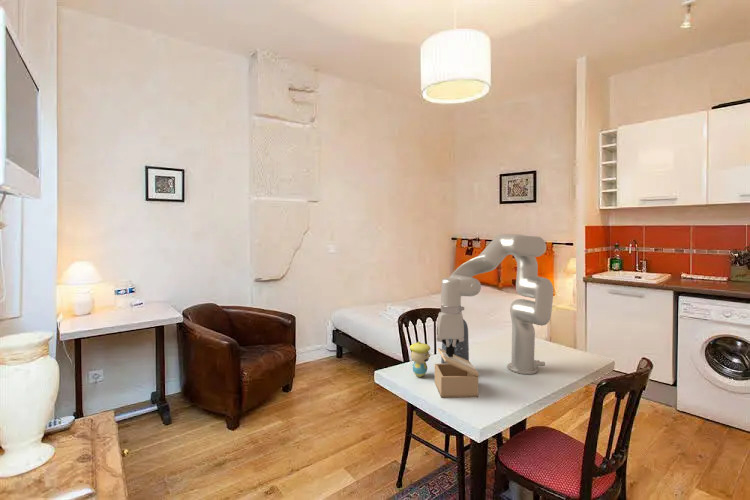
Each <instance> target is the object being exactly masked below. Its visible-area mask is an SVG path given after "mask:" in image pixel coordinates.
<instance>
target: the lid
mask: <svg viewBox="0 0 750 500" xmlns="http://www.w3.org/2000/svg"><path fill="white" fill-rule="evenodd" d="M437 351H438V353H439V354H440V356H442V358H443V359H444V361H445V362H446V363H449V364H451V365H453V366H455V367H458V368H460V369H462V370H465V371H467V372H469V373H472V374H474V375H476V376H478V377H480V374H479V372H478V370H477V369H476V367H475V366H474V365H473V364H472V363H471V362H470V360H469V361H467V360H465V359H463V358H461V357H458V356H456V355H454V354H453V357H449V356H448V355H447V354H446V351H445V350H442V348H438V349H437Z"/></svg>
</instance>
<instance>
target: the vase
mask: <svg viewBox="0 0 750 500" xmlns="http://www.w3.org/2000/svg"><path fill="white" fill-rule="evenodd" d="M462 311H463V310H462ZM462 311H461V313H462ZM462 314H463V313H462ZM463 323H464V341H462V342H458V343H457V344H456V346H455V347H454V355H456V356H458V357H461V358H463V359H465V360H467V361H469V362H470V353H469V351H470V348H469V328H468V323H467V322H466V320H465V319H464V318H463ZM451 340H452V339H449V345H450V344H451ZM441 349H442V350H445V351H446V345H445V344H444V343H443V342H441ZM440 356H441V355H440ZM440 362H441V363H440V364H449V363H446V362H445V361H444V359H443V358H442V356H441V361H440Z"/></svg>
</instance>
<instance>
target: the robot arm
mask: <svg viewBox="0 0 750 500" xmlns="http://www.w3.org/2000/svg"><path fill="white" fill-rule="evenodd" d="M546 249H547V244H546V241H545V240H544V239H543V238H542V237H540V236H536V235H535V236H533V235H523V234H510V233H509V234H508V233H503V234H502V233H500V234H498V235H497V236H495V237H494V238H492V240H491V242H489V243H488V245H487V246H486V247H485V248H484V249H483V251H481V252H480V254H478V255H477V256H475V257H473V258H471V259H468V260H467V261H466V262H464V263H462V264H460V265H459V266H458V267H457V268H456V269H455V270H454V271H453V272H452V273H451V274H450V276H448V277H445V278H443V279H442V280H441V286H440V287H441V289H440V290H441V292H440V293H441V294H440V311H439V312H438V314H437V315H438V316H437V323H436V335H437V336H436V341H437V342H439V343H442V342H443V343H444V344H445V345H446V354H447V355H448V356H449V357H453V354H454V347H455V346H456V344H457V343H458V342H462V341H464V323H463V319H464V317H463V313H461V311H465V306H462V297H475V296H477V295H478V294H479V293H480V292H481V289H482V284H481V282H480V280H478V278H475V277H474V276H477V275H481V274H485V273H488V272H491V271H494V270H496V269H497V267H498V266H499V265H500V264H501V263H502V262H503V261H504V260H505V259H506V257H507V256H509V255H510V256H513V257H514V259H515V262H516V278H515V279H516V280H515V290H516V293H517V295H519V296H522V297H525V298H530V299H535V300H529V299H523V298H517V299H515V300H513V301H512V303H511V304H510V307H509V312H510V314H509V315H510V318H511V362H509V363H508V364H507V369H508V370H509V371H511V372H514V373H515V374H516V373H517V374H519V375H520V374H521V375H533V374H534V375H535V374H536V373H538V371H539V368H538V367H545V366H546V362H545V361H540V360H539V359H536V360H535V345H536V344H535V343H536V342H535V340H536V338H535V337H536V331H535V327H534V325H535V326H547V324H549V323H550V321H551V317H552V313H553V312H552V311H553V301H554V285H553V284H552V281H551V280H550V279H548V278H546V277H543V276H539V275H538V274H539V273H538V272H539V271H538V270H539V269H538V267H539V265H538V261H537V257H541V256H542V255H543V254H544V253H545V251H546ZM449 339H452V340H451V344H450V345H449Z"/></svg>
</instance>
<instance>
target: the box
mask: <svg viewBox="0 0 750 500" xmlns="http://www.w3.org/2000/svg"><path fill="white" fill-rule="evenodd" d="M434 384H435V387H436V389H437V391H438V394H439V395H440V398H441V399H442V398H443V399H449V398H451V399H452V398H455V399H458V398H463V399H464V398H478V397H479V376H476V375H474V374H472V373H469V372H467V371H465V370H462V369H460V368H458V367H455V366H453V365H451V364H441V363H434Z"/></svg>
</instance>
